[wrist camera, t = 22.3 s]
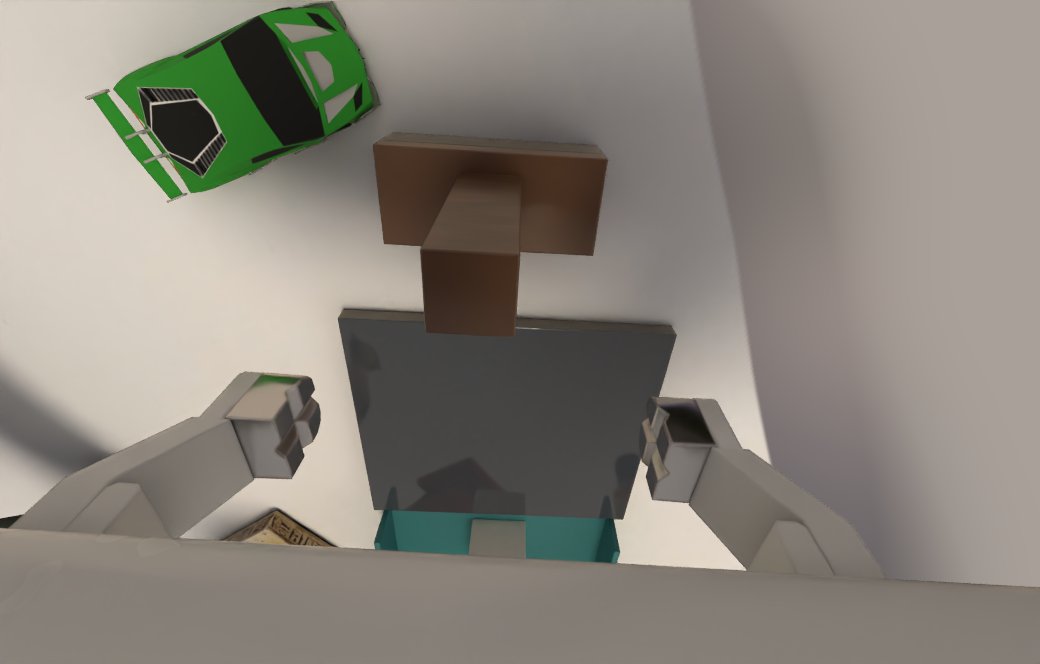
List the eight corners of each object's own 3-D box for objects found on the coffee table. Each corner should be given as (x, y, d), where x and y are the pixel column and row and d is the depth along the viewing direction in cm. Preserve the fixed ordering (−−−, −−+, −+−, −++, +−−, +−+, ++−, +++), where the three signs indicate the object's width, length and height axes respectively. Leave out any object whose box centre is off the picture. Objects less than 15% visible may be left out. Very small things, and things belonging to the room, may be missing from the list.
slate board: (672, 325, 25) (677, 334, 24) (620, 508, 33) (623, 519, 32) (343, 308, 24) (337, 318, 23) (377, 498, 33) (374, 510, 32)
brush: (597, 145, 20) (664, 230, 10) (584, 232, 22) (631, 368, 12) (392, 131, 19) (270, 207, 10) (400, 221, 21) (306, 352, 12)
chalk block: (525, 520, 33) (525, 573, 30) (522, 551, 36) (522, 603, 32) (472, 518, 33) (466, 571, 30) (472, 549, 36) (466, 601, 32)
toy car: (331, -17, 17) (305, -26, 15) (392, 115, 19) (377, 122, 17) (123, 86, 18) (77, 90, 17) (203, 194, 21) (170, 209, 19)
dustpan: (386, 501, 33) (373, 543, 30) (612, 510, 33) (620, 552, 30) (410, 647, 45) (403, 686, 43) (574, 652, 46) (577, 691, 43)
